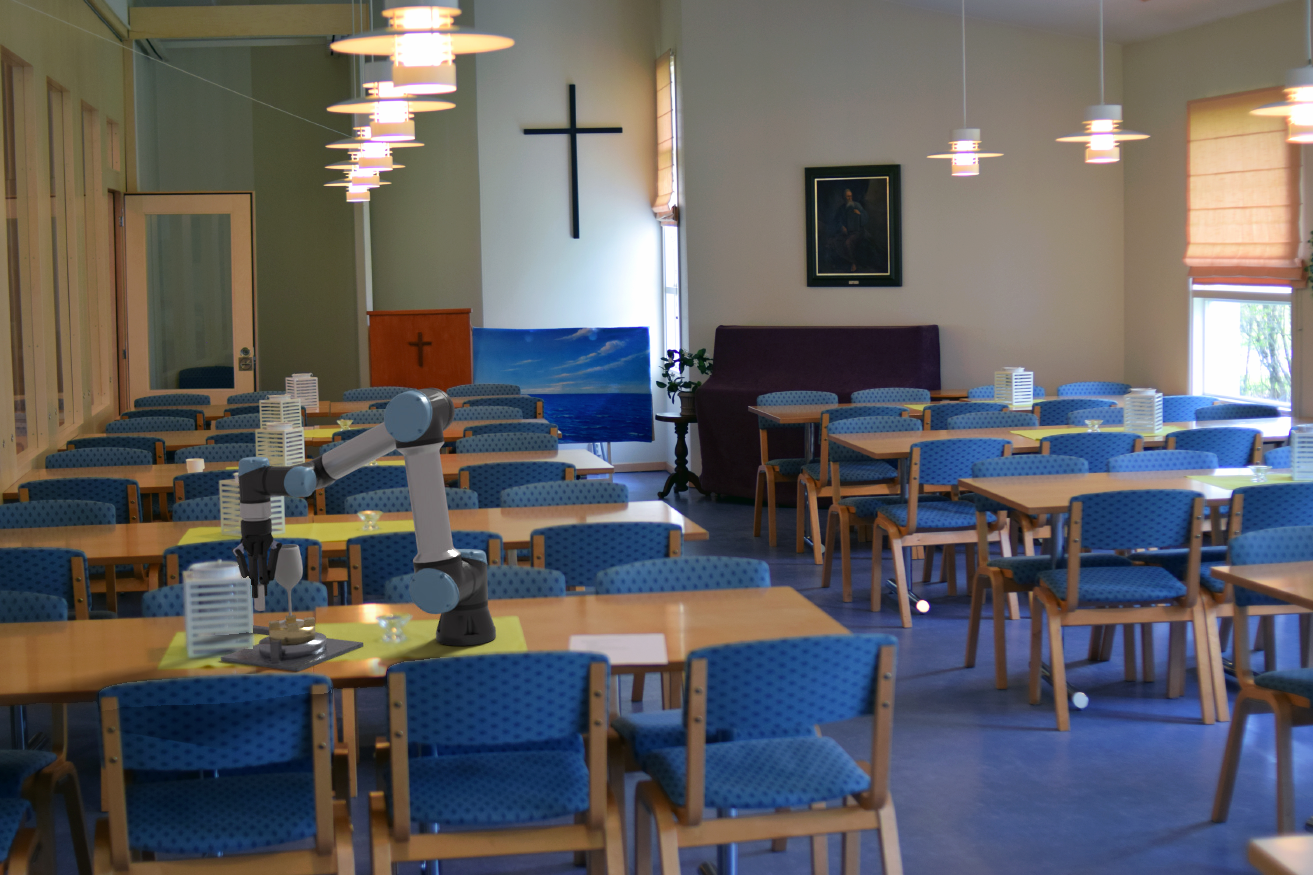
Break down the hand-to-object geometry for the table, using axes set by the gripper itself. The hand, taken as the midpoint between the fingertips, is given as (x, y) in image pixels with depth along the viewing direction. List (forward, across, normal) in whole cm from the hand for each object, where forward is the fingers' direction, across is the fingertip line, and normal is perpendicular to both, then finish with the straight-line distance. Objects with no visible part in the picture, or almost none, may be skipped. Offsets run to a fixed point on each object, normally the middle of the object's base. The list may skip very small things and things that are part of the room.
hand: (259, 609), depth 333 cm
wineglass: (+9, -15, -13) cm, 22 cm away
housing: (+8, 0, +16) cm, 18 cm away
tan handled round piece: (+5, +2, +10) cm, 12 cm away
